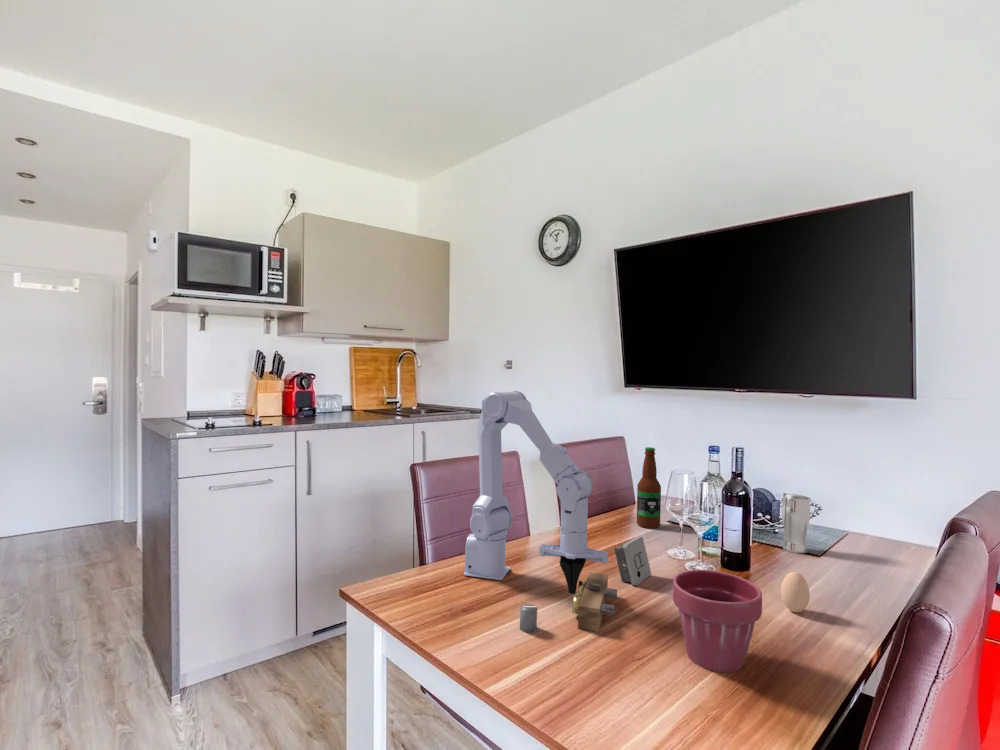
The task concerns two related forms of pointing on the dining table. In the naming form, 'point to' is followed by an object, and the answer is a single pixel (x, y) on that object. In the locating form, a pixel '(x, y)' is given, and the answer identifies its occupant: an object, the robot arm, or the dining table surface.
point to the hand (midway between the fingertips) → (572, 592)
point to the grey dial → (528, 618)
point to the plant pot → (716, 617)
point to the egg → (795, 592)
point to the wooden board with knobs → (592, 602)
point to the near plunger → (604, 607)
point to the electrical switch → (633, 561)
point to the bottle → (649, 493)
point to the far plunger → (608, 592)
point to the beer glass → (795, 522)
